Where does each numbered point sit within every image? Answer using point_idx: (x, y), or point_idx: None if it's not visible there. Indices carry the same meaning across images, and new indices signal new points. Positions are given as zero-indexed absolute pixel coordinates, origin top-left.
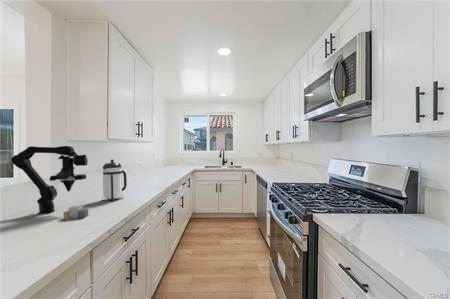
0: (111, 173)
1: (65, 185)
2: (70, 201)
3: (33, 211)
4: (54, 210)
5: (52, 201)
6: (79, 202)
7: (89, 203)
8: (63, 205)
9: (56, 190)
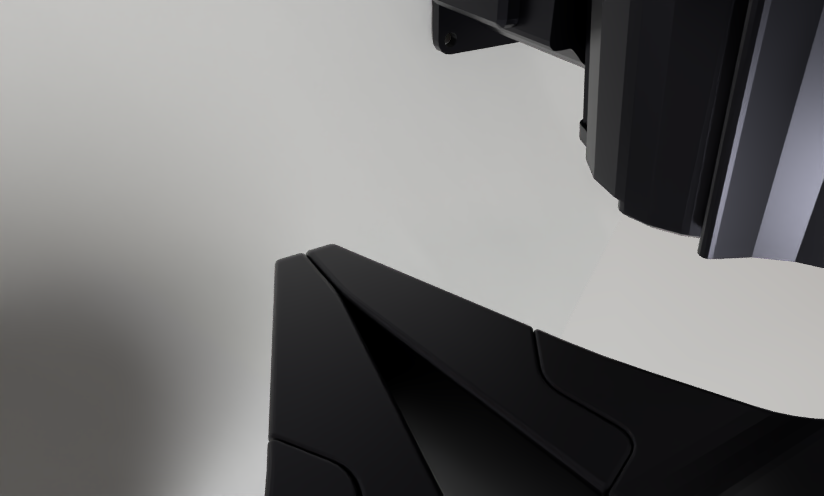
0: None
1: (562, 370)
2: None
3: None
4: (437, 27)
5: (561, 43)
6: None
7: (193, 477)
8: None
9: (704, 222)
